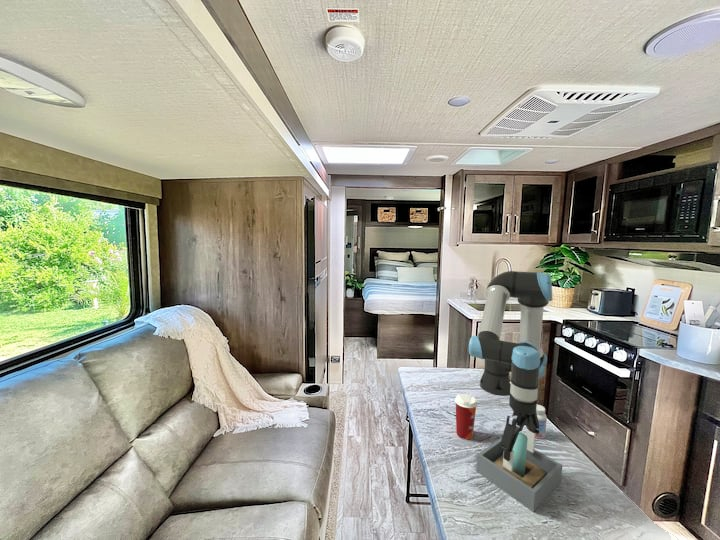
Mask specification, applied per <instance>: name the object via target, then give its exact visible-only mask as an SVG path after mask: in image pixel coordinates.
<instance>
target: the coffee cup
mask: <svg viewBox="0 0 720 540" xmlns="http://www.w3.org/2000/svg"><path fill="white" fill-rule="evenodd" d="M454 403H455V425H456V427H455V430H456V435H457V436H458V438H460V439H462V440H465V441H466V440H471V439H473V437H474V436H473V434H474V427H475V419H476V410H477V406H478V402H477V399H476V398H475V396H473V395H470V394H469V393H468V394H467V393H460V394H459V393H458V394H457V395H456V397H455V399H454Z"/></svg>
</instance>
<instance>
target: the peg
mask: <svg viewBox="0 0 720 540" xmlns="http://www.w3.org/2000/svg"><path fill="white" fill-rule="evenodd" d="M527 440H528V438H527V436H526V434H524V433H523V432H519V435H518V437H517V440H516V442H515V445H514V447H513V451H514V457H513V472H514V473H516V474H518V475H519V476H521V477H522V478H523V477H524V476H525V468H526V454H527Z"/></svg>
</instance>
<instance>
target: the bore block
mask: <svg viewBox="0 0 720 540" xmlns="http://www.w3.org/2000/svg"><path fill="white" fill-rule="evenodd" d="M493 463H495V464H496V465H498V466H499V467H501V468H502V469H504V470H505V471H507V472H508V473H510V474H511V475H513V476H514V477H516V478H517V479H519V480H520V481H522V482H523V483H525V484H526V485H528V486H529V487H531V488H532V489H533V488H534V487H535V486H536V485H537V484H538V483H539V482H540V481H541V480H542V479H543V478H544V477H545V476H546V475H547V471H545V470H543V469H542V468H540V467H538V466H536V465H535V464H533V463H531V462H530V461H528V460H526V468H525V476H524V477H523V478H522V477H521V476H519V475H518V474H516V473H514V472H513V471H510V470H508V469H507V468H505V467H504V466H503V455H502V456H501V457H500V458H498V459H497V460H496V461H494V462H493Z"/></svg>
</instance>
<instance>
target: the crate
mask: <svg viewBox="0 0 720 540" xmlns="http://www.w3.org/2000/svg"><path fill="white" fill-rule="evenodd" d="M501 440H502V437H500V438H498V439H497V440H496V441H495V442H492V444H490V445H489V446H487V447H486V448H485V449H483V450H482V451H480V452H479V453H477V455H476V472H477V473H478V474H480V475H481V476H482V477H484V478H485V479H486V480H488V481H490V482H491V483H492V484H493V485H495V486H496V487H498V488H500V489H501V490H502V491H503V492H504V493H506V494H507V495H509V496H510V497H511V498H513V499H514V500H516V501H517V502H519V504H521V505H523V506H524V507H526V508H527V509H528V510H529V511H531V512H532V513H534V512H535V511H536V510H537V509H538V508H539V506H541V505H542V503H543V502H544V501H545V500H546V499H547V498H548V497H549V496H550V495H551V494H552V493H553V491H554V490H556V488H557V487H558V486H559V485H560V484H561V483H562V473H563V464H562V463H559V462H558V461H556V460H554V459H552V458H551V457H550V456H547V455H546V454H544V453H542V452H540V451H538V450H536V449H535V448H534V453H532V452H530V451H529V450H527V454H526V460H528V461H530V462H531V463H533V464H535V465H536V466H538V467H540V468H542V469H543V470H545V471H547V475H546V476H545V477H544V478H543V479H542V480H541V481H540V482H539V483H538V484H537V485H536V486H535V487H534V488H533V489H532V488H531V487H529V486H528V485H526V484H525V483H523V482H522V481H520V480H519V479H517V478H516V477H514V476H513V475H511V474H510V473H508V472H507V471H505V470H504V469H502V468H501V467H499V466H498V465H496V464H495V463H493V462H495V461H496V460H497V459H498V458H500V457H501V456H502V455H503V454H504V450H502V449H501V448H499V447H500V443H501Z"/></svg>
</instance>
